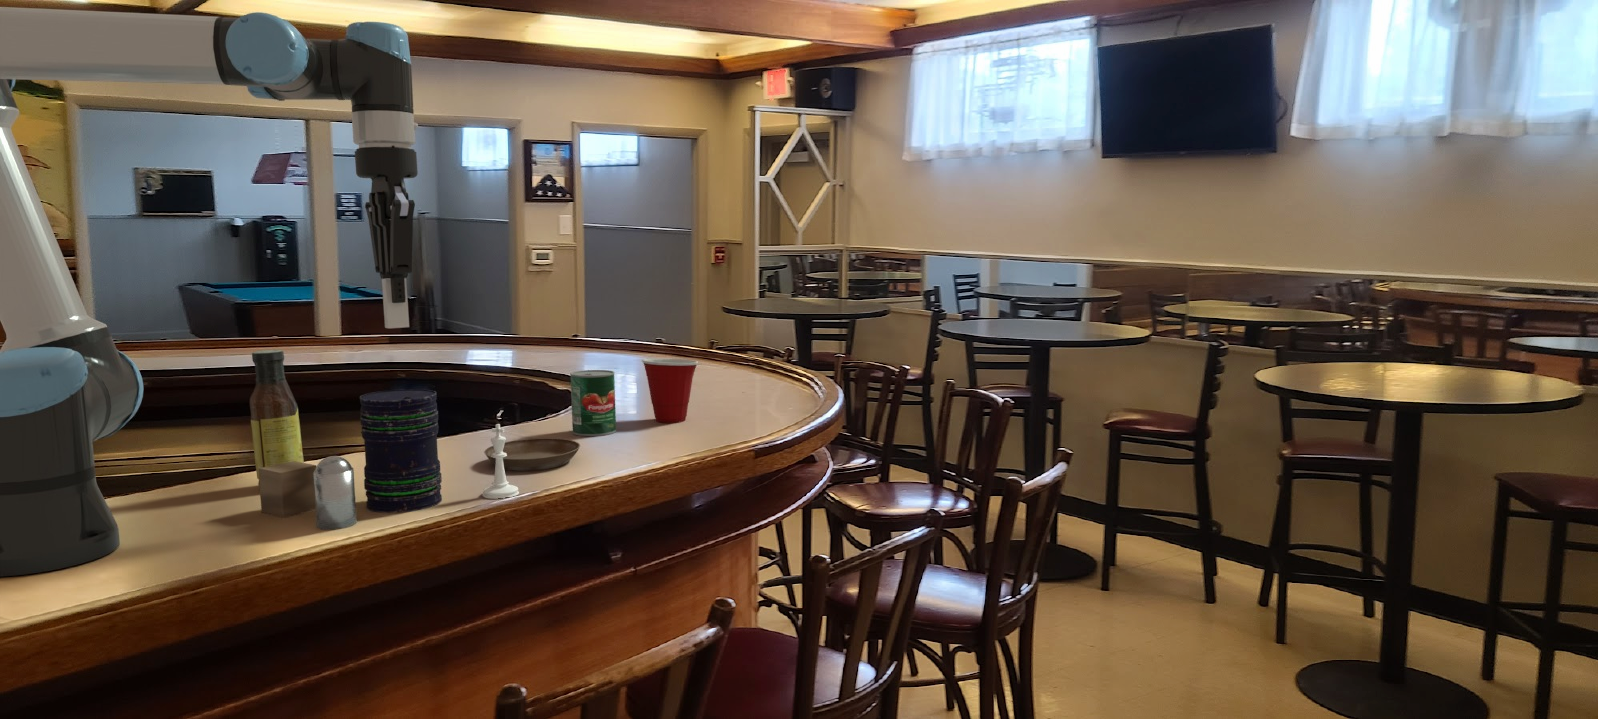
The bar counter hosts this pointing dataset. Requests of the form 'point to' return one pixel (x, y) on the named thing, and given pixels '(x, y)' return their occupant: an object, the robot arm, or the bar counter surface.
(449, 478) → the bar counter surface
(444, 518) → the bar counter surface
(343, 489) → the metal shaker
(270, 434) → the sauce bottle
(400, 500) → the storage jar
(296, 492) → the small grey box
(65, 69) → the robot arm
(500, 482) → the chess piece
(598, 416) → the canned tomato
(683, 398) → the plastic cup
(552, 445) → the saucer
